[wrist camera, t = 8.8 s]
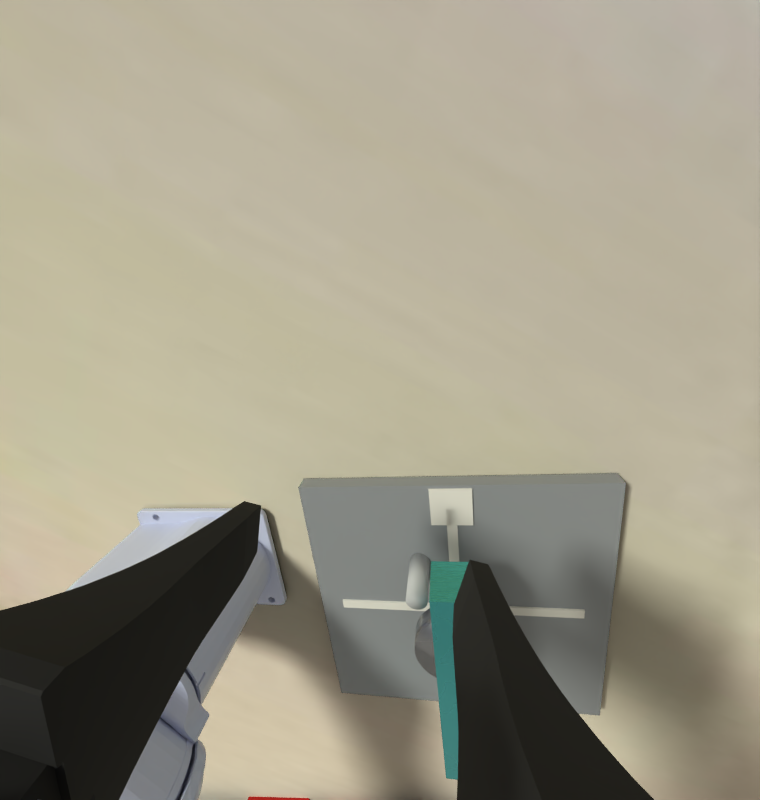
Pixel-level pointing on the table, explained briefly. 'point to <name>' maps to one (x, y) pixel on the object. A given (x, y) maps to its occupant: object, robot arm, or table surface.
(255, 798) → the maze game
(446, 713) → the teal rectangular block
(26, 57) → the table surface
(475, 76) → the table surface
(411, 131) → the table surface
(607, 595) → the lock board
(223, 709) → the table surface
